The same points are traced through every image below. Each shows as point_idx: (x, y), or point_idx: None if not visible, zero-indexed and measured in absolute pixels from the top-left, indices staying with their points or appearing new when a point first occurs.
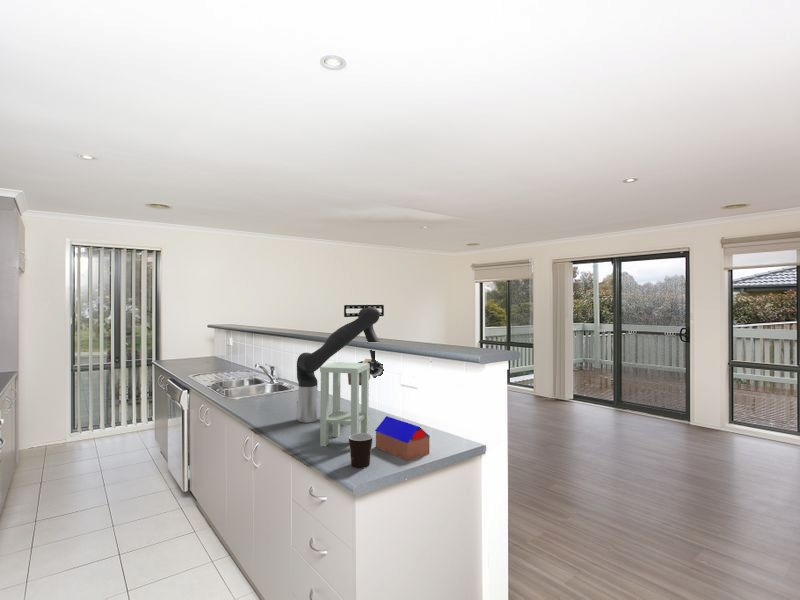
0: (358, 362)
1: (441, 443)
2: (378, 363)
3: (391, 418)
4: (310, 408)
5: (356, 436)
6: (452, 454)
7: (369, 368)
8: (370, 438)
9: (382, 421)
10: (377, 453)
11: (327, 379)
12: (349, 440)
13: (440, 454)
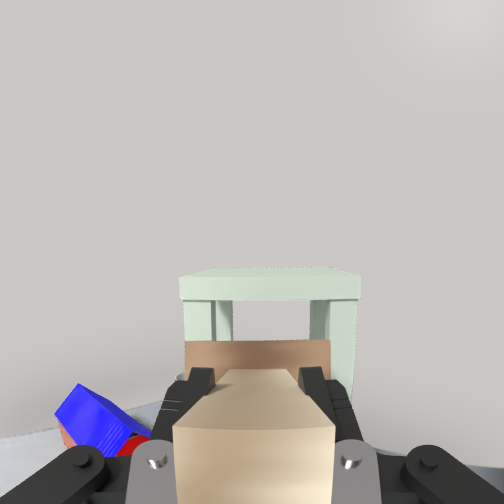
0: (472, 476)
1: (12, 472)
2: (36, 482)
3: (122, 421)
4: None
5: None
6: (27, 434)
7: (186, 359)
8: (178, 374)
9: (148, 437)
10: None
11: (311, 306)
12: None
13: (46, 438)
